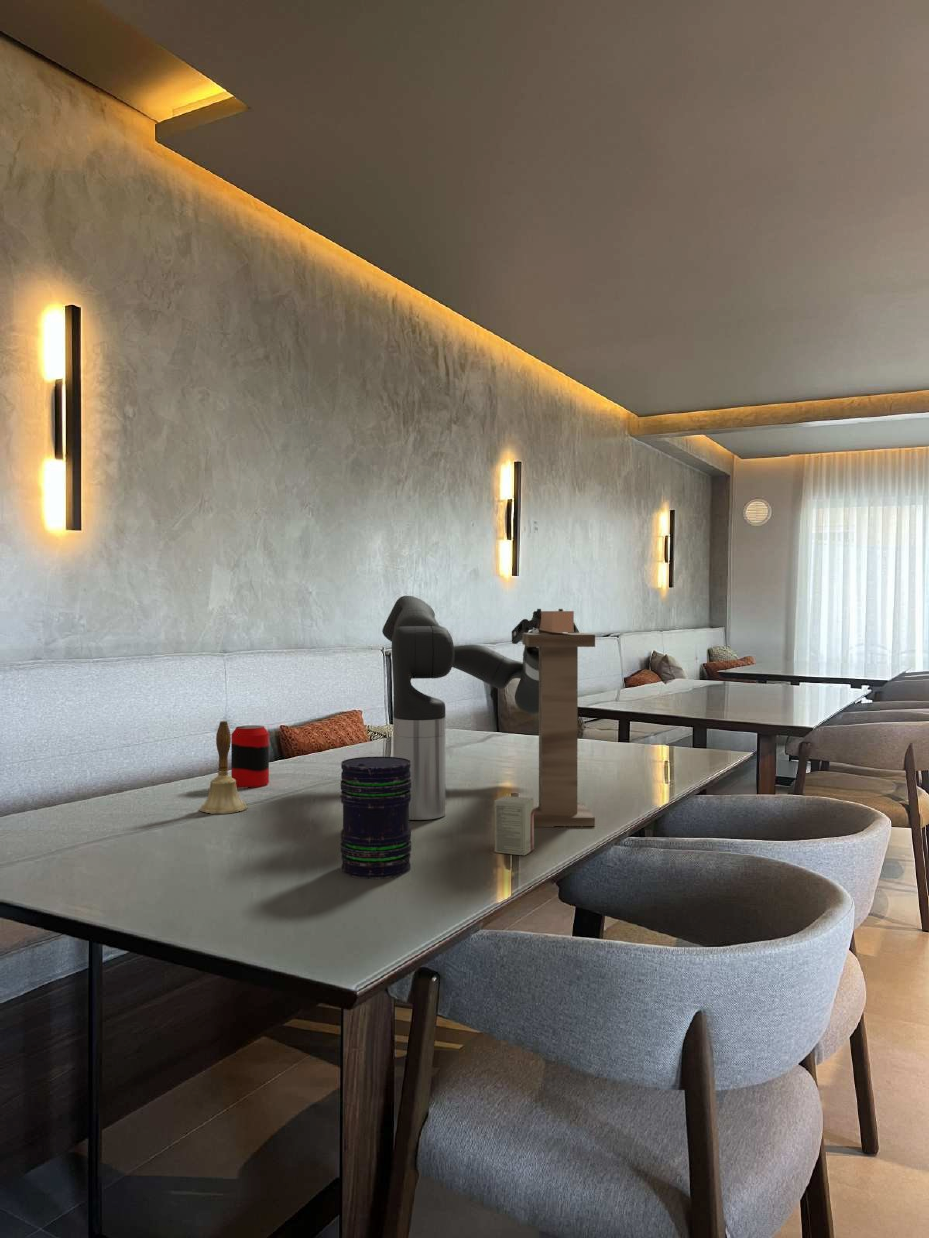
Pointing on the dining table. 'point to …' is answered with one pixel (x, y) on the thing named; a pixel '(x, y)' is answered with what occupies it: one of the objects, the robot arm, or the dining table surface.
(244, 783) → the soda can
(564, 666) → the wooden pedestal stand
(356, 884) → the dining table surface
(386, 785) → the storage jar
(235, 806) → the hand bell
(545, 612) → the block
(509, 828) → the small box
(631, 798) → the dining table surface
